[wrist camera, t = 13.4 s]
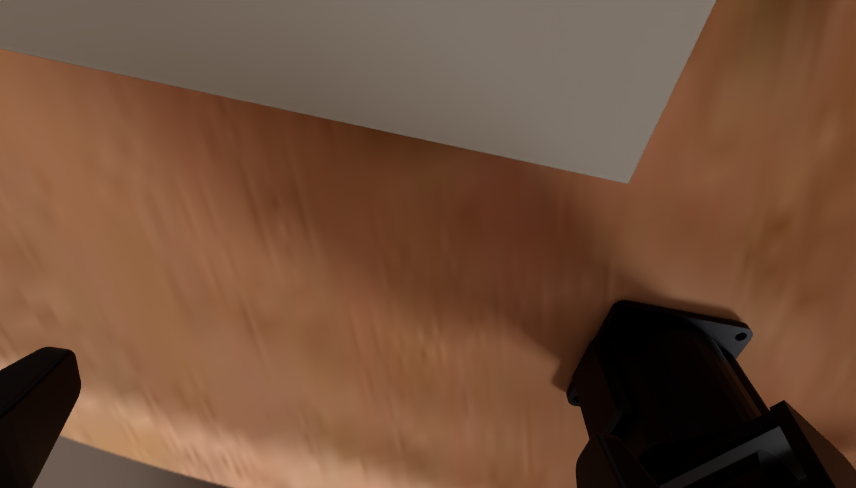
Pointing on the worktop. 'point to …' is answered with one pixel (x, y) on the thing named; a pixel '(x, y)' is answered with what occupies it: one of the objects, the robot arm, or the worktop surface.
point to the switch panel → (403, 64)
